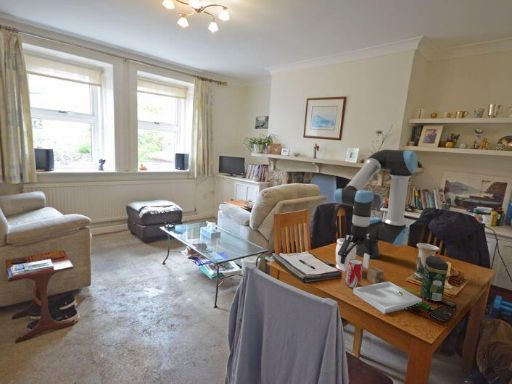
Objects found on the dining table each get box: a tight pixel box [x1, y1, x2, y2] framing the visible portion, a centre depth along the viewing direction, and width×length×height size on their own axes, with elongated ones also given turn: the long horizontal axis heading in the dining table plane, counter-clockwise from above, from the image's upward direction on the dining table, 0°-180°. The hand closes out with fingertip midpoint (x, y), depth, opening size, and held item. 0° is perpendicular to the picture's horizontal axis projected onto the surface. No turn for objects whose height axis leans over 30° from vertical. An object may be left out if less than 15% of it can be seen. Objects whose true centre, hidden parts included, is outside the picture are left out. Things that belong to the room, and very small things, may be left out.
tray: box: [352, 281, 423, 315], centre depth 124 cm, size 22×17×2 cm
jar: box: [335, 238, 357, 271], centre depth 152 cm, size 11×10×15 cm
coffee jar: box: [420, 255, 449, 302], centre depth 126 cm, size 10×8×19 cm
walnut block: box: [366, 266, 385, 284], centre depth 139 cm, size 5×5×6 cm
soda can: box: [344, 258, 364, 289], centre depth 133 cm, size 7×7×12 cm
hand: (354, 268), depth 132 cm, fingers open, 13 cm apart
